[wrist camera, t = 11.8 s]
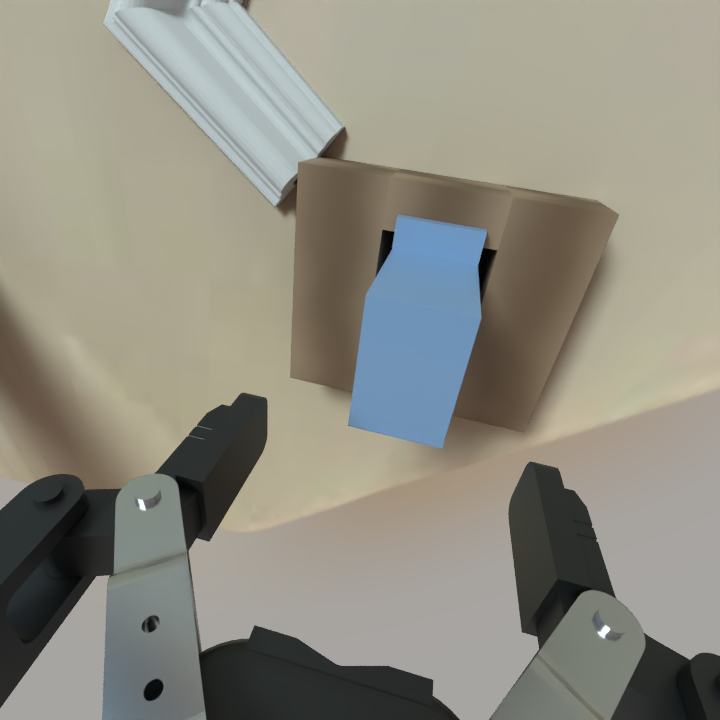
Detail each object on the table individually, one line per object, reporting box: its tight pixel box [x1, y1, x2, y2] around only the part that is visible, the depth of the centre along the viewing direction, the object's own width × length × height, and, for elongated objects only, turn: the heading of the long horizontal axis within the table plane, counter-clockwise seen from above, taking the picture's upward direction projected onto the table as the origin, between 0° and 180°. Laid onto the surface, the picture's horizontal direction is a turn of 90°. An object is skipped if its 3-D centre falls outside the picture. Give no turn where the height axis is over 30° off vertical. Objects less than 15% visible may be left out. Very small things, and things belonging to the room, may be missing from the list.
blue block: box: [348, 214, 487, 449], centre depth 20 cm, size 4×9×10 cm, turn 173°
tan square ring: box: [290, 156, 619, 432], centre depth 23 cm, size 14×12×4 cm
